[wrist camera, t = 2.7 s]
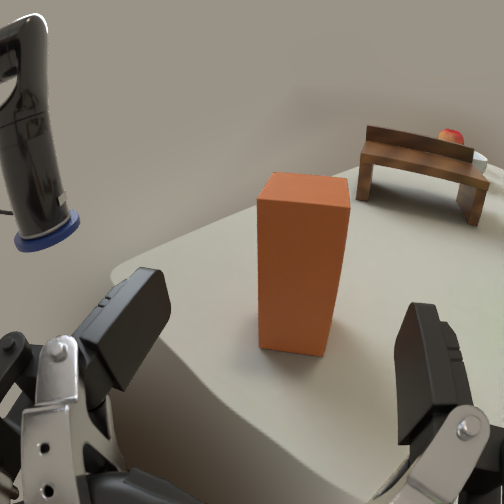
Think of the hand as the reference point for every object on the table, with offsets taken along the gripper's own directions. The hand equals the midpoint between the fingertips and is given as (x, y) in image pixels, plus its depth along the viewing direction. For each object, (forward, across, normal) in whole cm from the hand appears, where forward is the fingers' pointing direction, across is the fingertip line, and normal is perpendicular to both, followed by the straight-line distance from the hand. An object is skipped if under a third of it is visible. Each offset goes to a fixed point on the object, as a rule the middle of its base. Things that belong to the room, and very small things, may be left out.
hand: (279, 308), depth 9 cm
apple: (+90, -42, +11) cm, 100 cm away
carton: (+10, 0, +12) cm, 16 cm away
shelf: (+44, -18, +11) cm, 49 cm away
